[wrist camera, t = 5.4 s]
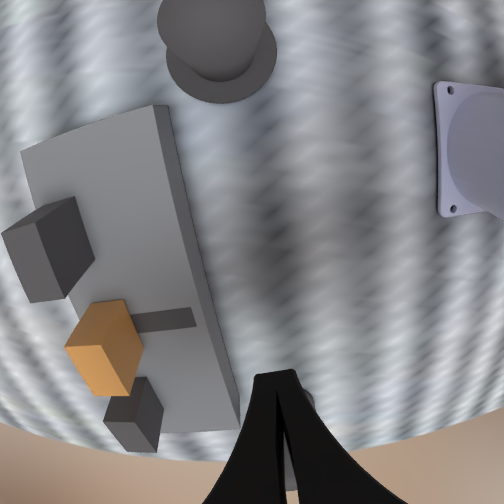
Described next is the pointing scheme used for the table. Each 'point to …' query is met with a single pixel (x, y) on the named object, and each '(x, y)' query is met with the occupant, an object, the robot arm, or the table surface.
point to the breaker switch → (106, 349)
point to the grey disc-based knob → (217, 47)
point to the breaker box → (129, 267)
